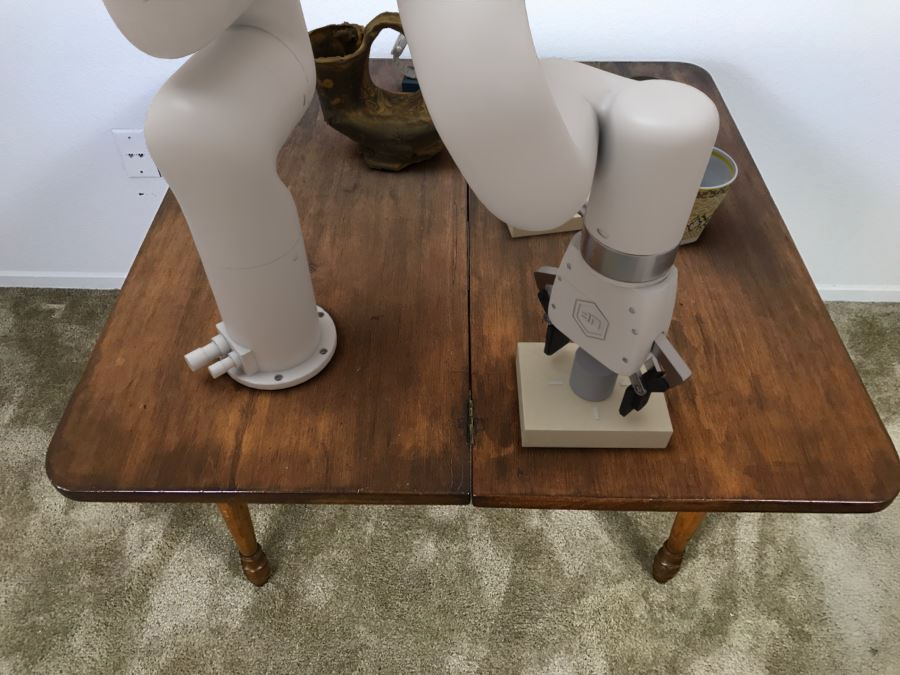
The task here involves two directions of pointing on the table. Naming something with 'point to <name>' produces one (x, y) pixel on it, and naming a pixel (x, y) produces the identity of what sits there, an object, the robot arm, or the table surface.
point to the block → (570, 225)
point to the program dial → (591, 377)
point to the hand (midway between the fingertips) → (592, 376)
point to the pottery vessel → (370, 97)
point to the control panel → (580, 407)
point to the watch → (404, 67)
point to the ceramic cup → (710, 193)
